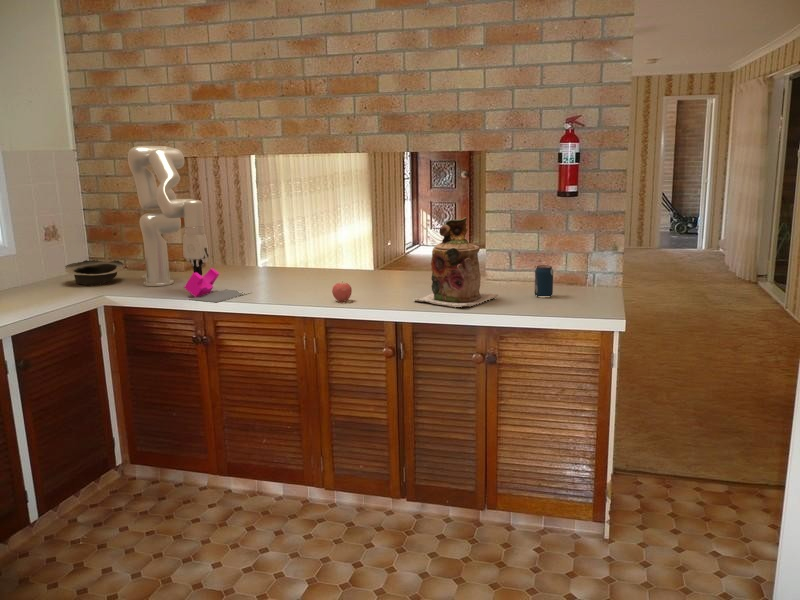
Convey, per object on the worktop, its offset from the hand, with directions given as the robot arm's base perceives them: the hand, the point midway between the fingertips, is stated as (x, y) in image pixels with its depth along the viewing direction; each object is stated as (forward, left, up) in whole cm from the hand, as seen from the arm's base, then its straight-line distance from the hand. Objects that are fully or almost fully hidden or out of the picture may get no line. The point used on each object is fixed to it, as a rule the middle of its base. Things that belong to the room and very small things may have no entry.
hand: (198, 275), depth 286 cm
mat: (+12, 0, -8) cm, 14 cm away
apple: (+62, +11, -8) cm, 64 cm away
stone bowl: (-63, +2, -8) cm, 63 cm away
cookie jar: (+102, +30, -8) cm, 106 cm away
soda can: (+130, +50, -8) cm, 140 cm away
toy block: (+1, 0, -6) cm, 6 cm away
